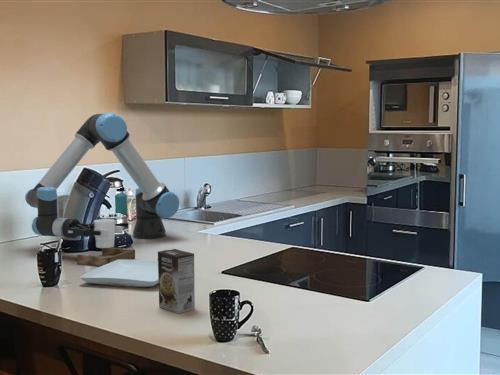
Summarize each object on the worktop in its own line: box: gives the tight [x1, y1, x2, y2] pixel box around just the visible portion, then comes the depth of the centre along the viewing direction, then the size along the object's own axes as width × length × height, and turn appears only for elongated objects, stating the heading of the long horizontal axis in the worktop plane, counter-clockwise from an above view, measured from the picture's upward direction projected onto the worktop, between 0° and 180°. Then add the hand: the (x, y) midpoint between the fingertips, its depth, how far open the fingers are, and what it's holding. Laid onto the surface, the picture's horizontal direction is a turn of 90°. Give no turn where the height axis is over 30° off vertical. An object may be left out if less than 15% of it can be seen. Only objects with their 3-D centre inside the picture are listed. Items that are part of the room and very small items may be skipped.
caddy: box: [76, 247, 136, 267], centre depth 228 cm, size 15×16×4 cm
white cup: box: [93, 218, 116, 249], centre depth 226 cm, size 8×8×10 cm
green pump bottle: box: [114, 186, 129, 218], centre depth 310 cm, size 6×7×20 cm
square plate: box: [79, 259, 159, 288], centre depth 202 cm, size 27×27×4 cm
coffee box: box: [157, 248, 196, 315], centre depth 167 cm, size 9×6×16 cm
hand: (115, 231), depth 224 cm, fingers closed on white cup, 8 cm apart
